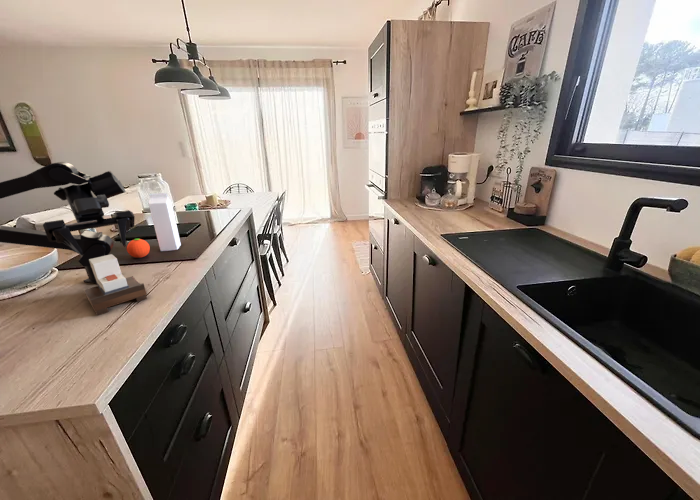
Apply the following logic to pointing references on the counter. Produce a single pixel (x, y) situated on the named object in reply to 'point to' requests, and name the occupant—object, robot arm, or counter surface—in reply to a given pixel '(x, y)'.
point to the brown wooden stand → (115, 295)
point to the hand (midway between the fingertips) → (104, 250)
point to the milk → (164, 222)
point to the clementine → (138, 248)
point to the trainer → (108, 274)
